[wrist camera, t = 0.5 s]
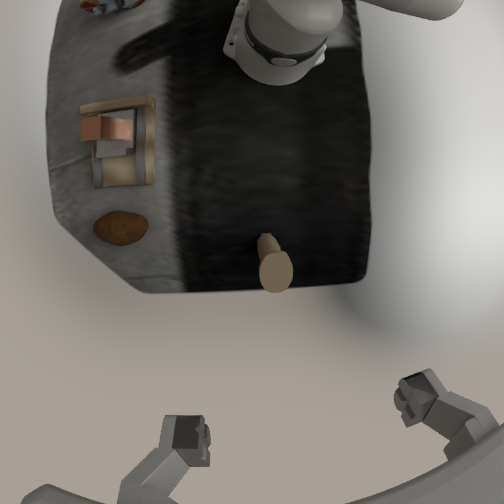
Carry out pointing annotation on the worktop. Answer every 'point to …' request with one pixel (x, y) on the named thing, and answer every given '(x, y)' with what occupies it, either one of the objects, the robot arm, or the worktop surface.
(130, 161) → the frame
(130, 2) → the lucky cat figurine
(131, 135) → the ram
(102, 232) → the potato
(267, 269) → the handle
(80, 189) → the worktop surface
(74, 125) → the worktop surface
